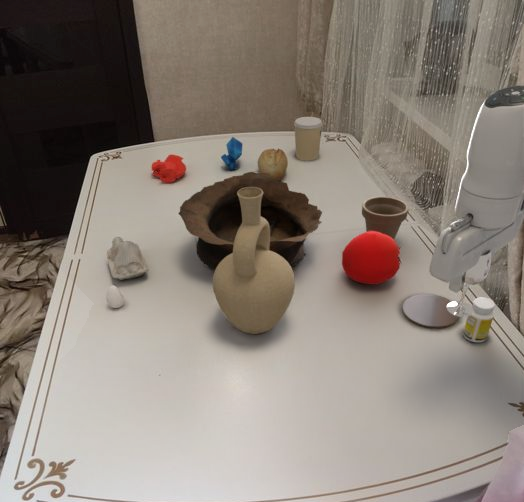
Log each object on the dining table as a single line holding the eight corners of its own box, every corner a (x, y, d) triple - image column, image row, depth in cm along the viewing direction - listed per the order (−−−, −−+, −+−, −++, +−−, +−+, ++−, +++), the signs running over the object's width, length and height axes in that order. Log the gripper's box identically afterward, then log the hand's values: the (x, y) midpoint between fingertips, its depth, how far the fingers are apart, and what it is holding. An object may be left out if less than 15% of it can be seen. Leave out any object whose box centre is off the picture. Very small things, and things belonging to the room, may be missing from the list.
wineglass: (476, 321, 92) (494, 260, 84) (441, 315, 93) (455, 254, 85) (477, 302, 96) (494, 242, 88) (443, 297, 97) (457, 237, 90)
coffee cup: (326, 158, 187) (328, 122, 179) (303, 163, 184) (304, 127, 176) (310, 149, 193) (312, 114, 186) (288, 155, 190) (288, 119, 182)
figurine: (112, 255, 141) (106, 226, 135) (156, 254, 141) (152, 225, 135) (100, 287, 129) (92, 257, 124) (148, 286, 129) (142, 256, 124)
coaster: (452, 296, 123) (453, 294, 123) (463, 329, 114) (464, 327, 114) (399, 295, 124) (399, 293, 124) (405, 327, 115) (406, 325, 115)
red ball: (345, 297, 129) (396, 289, 132) (363, 275, 117) (418, 266, 120) (331, 250, 133) (381, 242, 135) (347, 223, 121) (401, 215, 123)
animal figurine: (188, 164, 186) (186, 149, 182) (186, 182, 174) (185, 167, 171) (154, 166, 185) (152, 151, 182) (150, 184, 174) (148, 168, 170)
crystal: (220, 153, 174) (219, 132, 181) (222, 176, 181) (221, 155, 188) (243, 152, 174) (241, 131, 181) (244, 175, 181) (242, 154, 188)
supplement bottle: (488, 332, 113) (499, 299, 108) (484, 345, 110) (494, 312, 105) (465, 326, 115) (474, 293, 110) (460, 338, 112) (469, 305, 107)
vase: (283, 354, 110) (284, 217, 90) (205, 341, 113) (190, 207, 94) (301, 306, 122) (305, 177, 102) (230, 296, 125) (221, 169, 106)
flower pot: (387, 227, 149) (392, 192, 142) (411, 245, 141) (418, 209, 134) (350, 235, 146) (353, 200, 139) (373, 255, 138) (378, 219, 131)
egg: (117, 299, 125) (112, 279, 122) (128, 304, 124) (124, 284, 120) (105, 307, 123) (99, 287, 120) (116, 312, 121) (111, 292, 118)
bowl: (318, 229, 152) (326, 179, 142) (311, 303, 128) (320, 250, 118) (197, 215, 154) (196, 164, 143) (168, 285, 130) (164, 231, 119)
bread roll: (285, 165, 183) (285, 141, 178) (289, 184, 172) (289, 159, 167) (257, 166, 183) (256, 142, 178) (259, 185, 171) (258, 160, 166)
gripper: (466, 235, 75) (446, 315, 84) (540, 190, 85) (516, 266, 94) (427, 220, 79) (413, 298, 88) (503, 179, 89) (483, 253, 98)
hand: (467, 281), depth 91 cm, fingers closed on wineglass, 5 cm apart
